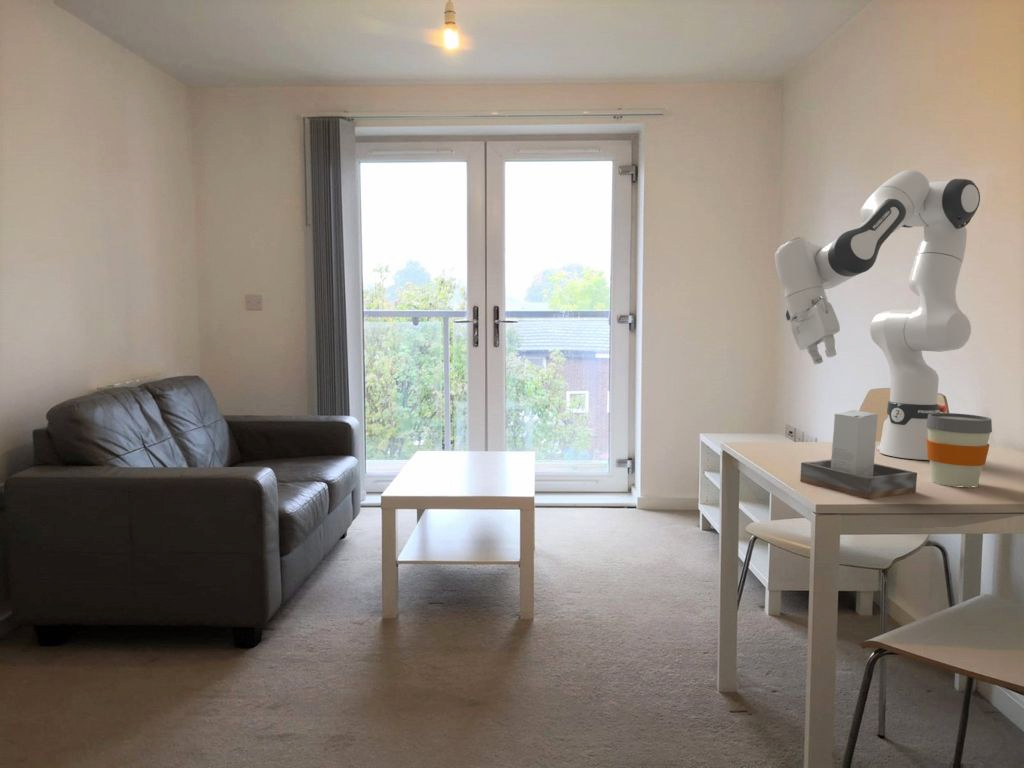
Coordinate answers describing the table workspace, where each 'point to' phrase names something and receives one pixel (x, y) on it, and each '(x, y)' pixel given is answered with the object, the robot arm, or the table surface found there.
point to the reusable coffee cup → (957, 447)
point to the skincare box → (854, 442)
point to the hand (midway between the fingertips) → (825, 360)
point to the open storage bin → (859, 480)
